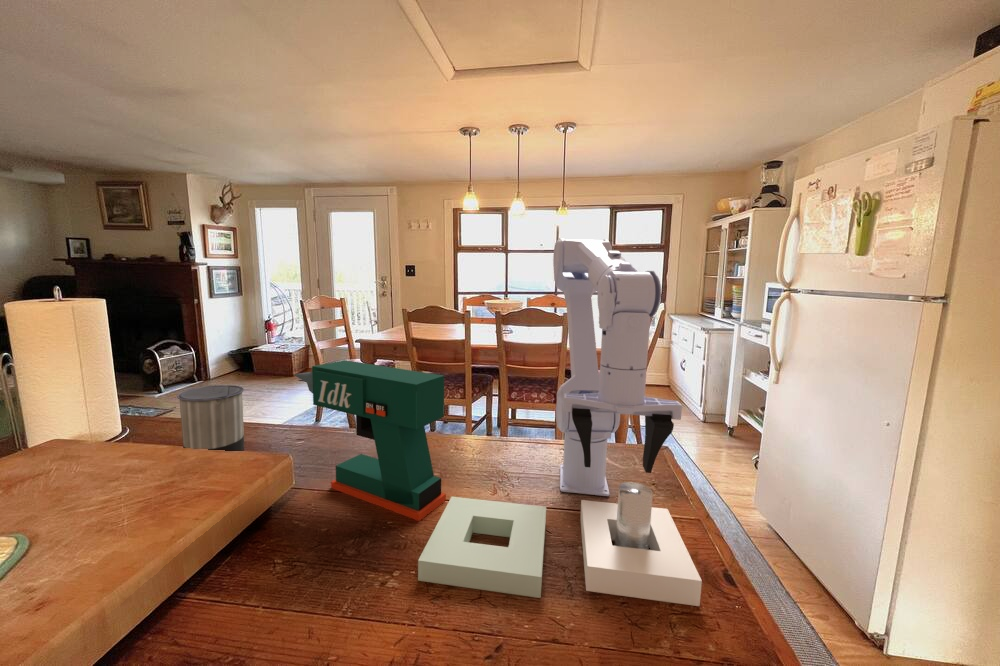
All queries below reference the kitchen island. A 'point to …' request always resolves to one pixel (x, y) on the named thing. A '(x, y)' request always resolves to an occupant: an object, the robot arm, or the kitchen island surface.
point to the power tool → (385, 432)
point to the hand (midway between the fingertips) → (616, 466)
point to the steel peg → (633, 515)
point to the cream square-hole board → (637, 558)
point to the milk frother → (212, 418)
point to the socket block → (487, 547)
